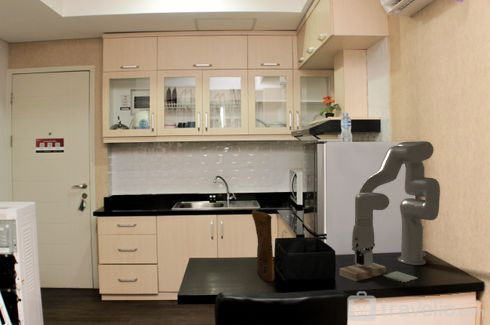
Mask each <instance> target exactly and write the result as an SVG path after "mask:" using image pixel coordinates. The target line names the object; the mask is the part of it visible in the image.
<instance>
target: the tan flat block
mask: <svg viewBox="0 0 490 325" xmlns="http://www.w3.org/2000/svg"><path fill="white" fill-rule="evenodd" d="M386 270H387V268H386V266H385V265H382V264H378V263H375V262H373V265H371V266H367V267H365V266H362V265H359V264H356V263H355V264H353V265H349V266H344V267H340V268H339V271H338V272H339V273H338V274H339V276H340V277H343V278H346V279H348V280H351V281H354V282H358V281H362V280H366V279H369V278H374V277H376V276H381V275H385V274H387V273H386V272H387V271H386Z"/></svg>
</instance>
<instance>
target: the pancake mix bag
mask: <svg viewBox="0 0 490 325" xmlns="http://www.w3.org/2000/svg"><path fill="white" fill-rule="evenodd" d="M251 216H252V220H253V222H254V225H255V227H254V228H255V231H256V232H255V233H256V237H257V248H256V250H257V251H256V253H257V254H256V273H257V274H258V275H259V276H260V277H261V279H262V280H263V281H266V282H270V283H271V282H273V281H274V280H275V268H274V255H273V254H274V253H273V243H272V241H273V240H272V238H273V237H272V218H273V217H272V215H270V214H268V213H266V212H262V211H260V210H259V211H258V210H255V209H253V210H252V211H251Z"/></svg>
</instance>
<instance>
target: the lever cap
mask: <svg viewBox="0 0 490 325" xmlns="http://www.w3.org/2000/svg"><path fill="white" fill-rule="evenodd" d="M359 252H360V250H359ZM373 253H374V252H373V250H372V251H369V250H365V249H363V253H362V256H363V265H362V266H365V267H367V266H371V265H373V263H374V260H373ZM354 264H355V265H356V264H357V263H356V254H355V253H354ZM359 265H360V264H359Z"/></svg>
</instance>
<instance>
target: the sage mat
mask: <svg viewBox="0 0 490 325" xmlns="http://www.w3.org/2000/svg"><path fill="white" fill-rule="evenodd" d="M382 277H386V278H387V279H391V280H393V281H397V282H400V281H401V282H400V283H403V282H405V283H408V282H412V281H415V280H418V279H419V277H416V276H414V275H410V274H407V273H403V272H400V271H397V270H396V271H392V272H390V273H385V274H382ZM411 280H412V281H411Z"/></svg>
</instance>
